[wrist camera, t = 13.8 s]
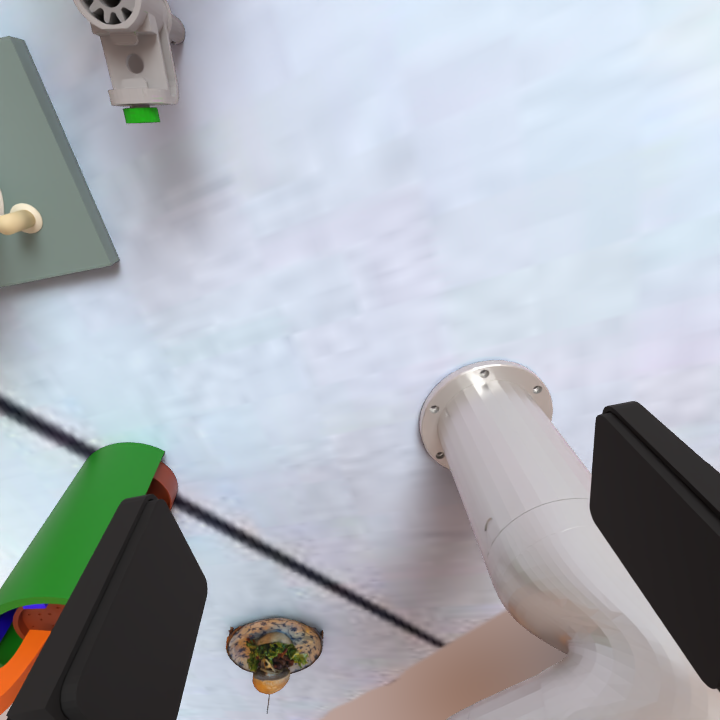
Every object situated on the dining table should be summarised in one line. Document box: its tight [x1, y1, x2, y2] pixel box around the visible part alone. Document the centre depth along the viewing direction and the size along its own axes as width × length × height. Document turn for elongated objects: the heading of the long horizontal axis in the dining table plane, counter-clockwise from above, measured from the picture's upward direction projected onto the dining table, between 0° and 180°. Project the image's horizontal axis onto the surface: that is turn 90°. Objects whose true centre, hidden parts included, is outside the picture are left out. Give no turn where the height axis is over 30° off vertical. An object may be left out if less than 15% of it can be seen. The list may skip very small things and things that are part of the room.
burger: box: [226, 618, 323, 713], centre depth 55 cm, size 12×12×8 cm
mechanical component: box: [73, 0, 185, 123], centre depth 24 cm, size 3×10×10 cm, turn 2°
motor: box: [0, 442, 178, 715], centre depth 36 cm, size 10×9×20 cm
